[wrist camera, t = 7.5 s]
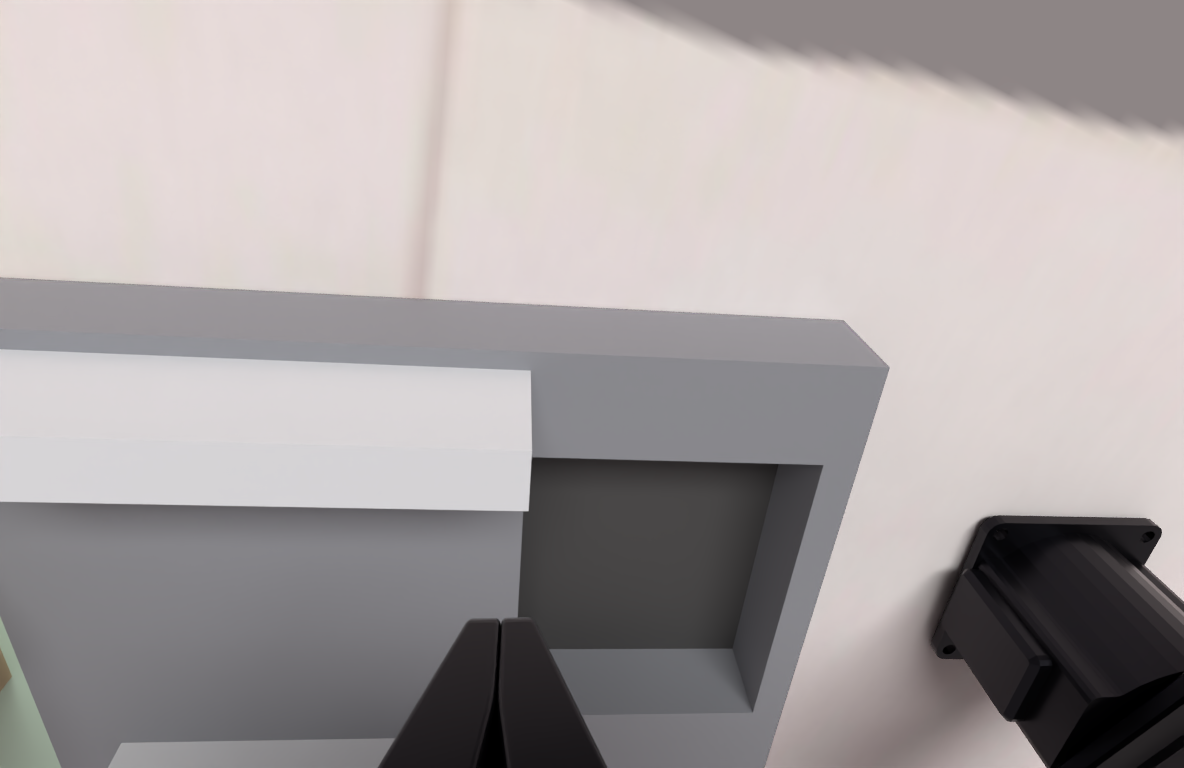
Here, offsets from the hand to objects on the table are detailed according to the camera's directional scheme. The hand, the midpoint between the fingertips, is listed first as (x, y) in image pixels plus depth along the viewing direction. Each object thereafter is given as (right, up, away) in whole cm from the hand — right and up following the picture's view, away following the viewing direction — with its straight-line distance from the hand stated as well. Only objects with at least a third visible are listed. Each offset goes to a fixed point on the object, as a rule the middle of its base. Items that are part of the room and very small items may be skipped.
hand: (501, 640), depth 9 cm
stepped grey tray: (-8, -1, +13) cm, 16 cm away
